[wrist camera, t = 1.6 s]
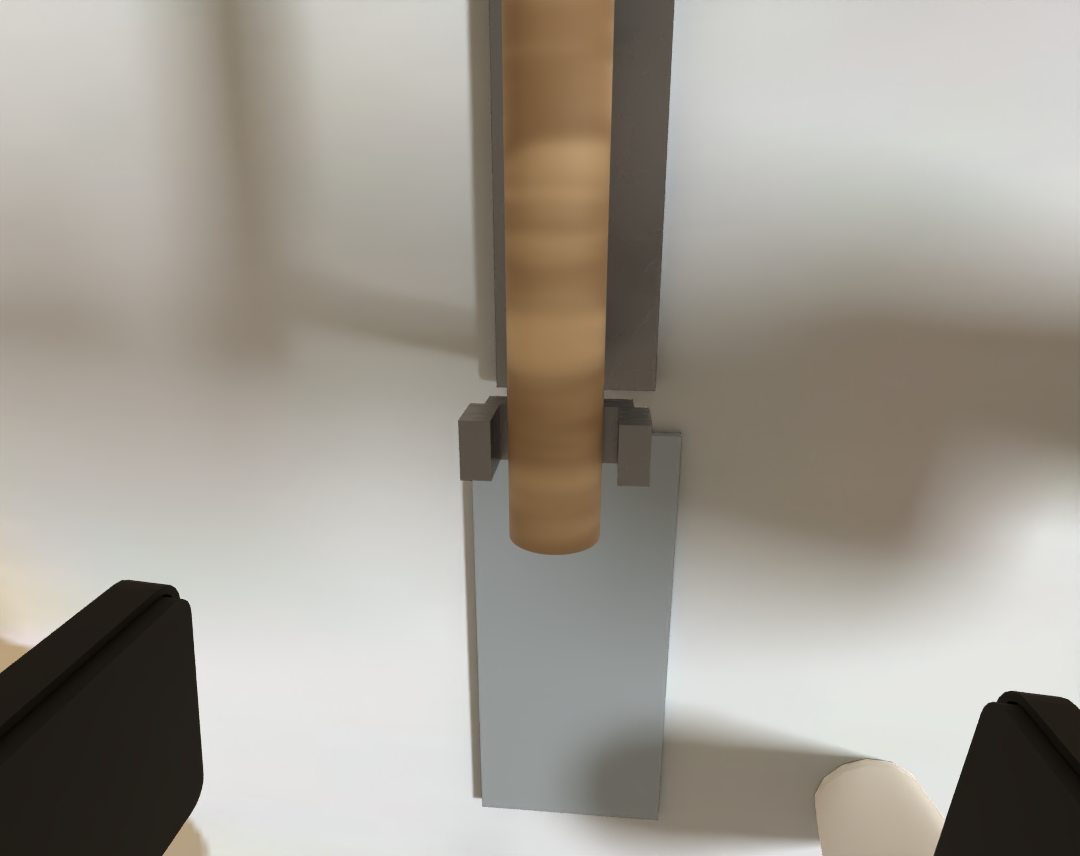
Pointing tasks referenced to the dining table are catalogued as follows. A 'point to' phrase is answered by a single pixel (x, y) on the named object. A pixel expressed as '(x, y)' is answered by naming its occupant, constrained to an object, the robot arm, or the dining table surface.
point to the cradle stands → (630, 244)
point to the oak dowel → (556, 264)
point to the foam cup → (875, 812)
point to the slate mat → (577, 650)
